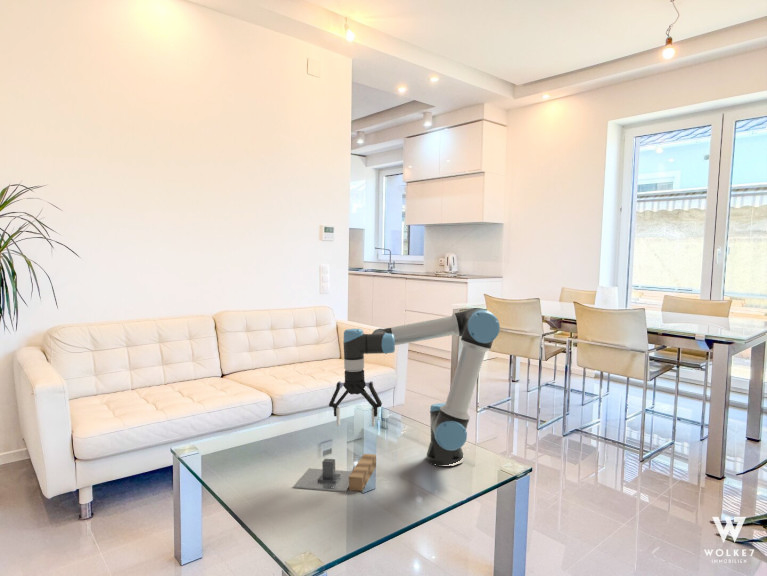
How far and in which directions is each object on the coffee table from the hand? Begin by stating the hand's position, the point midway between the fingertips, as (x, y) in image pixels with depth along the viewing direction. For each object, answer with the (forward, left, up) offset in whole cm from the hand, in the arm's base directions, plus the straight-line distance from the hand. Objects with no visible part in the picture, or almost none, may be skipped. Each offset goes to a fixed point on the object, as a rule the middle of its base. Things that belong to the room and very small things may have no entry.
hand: (355, 424), depth 184 cm
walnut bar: (-3, +2, -20) cm, 20 cm away
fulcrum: (+9, +7, -20) cm, 22 cm away
